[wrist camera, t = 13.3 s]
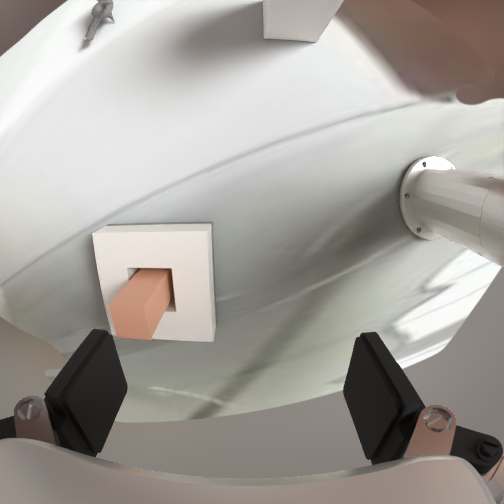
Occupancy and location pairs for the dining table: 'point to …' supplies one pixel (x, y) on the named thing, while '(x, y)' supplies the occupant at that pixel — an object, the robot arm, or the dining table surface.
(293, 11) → the milk carton
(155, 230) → the socket block
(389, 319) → the dining table surface
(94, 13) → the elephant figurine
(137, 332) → the peg
